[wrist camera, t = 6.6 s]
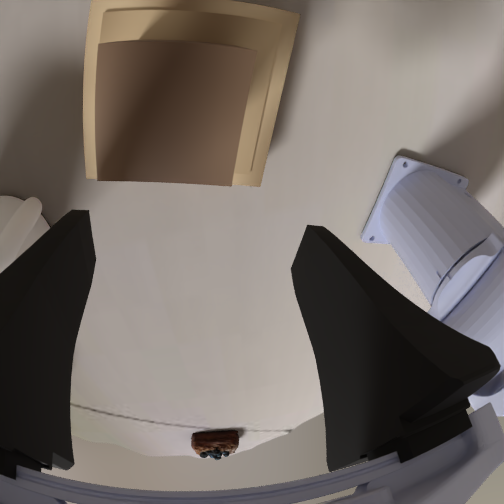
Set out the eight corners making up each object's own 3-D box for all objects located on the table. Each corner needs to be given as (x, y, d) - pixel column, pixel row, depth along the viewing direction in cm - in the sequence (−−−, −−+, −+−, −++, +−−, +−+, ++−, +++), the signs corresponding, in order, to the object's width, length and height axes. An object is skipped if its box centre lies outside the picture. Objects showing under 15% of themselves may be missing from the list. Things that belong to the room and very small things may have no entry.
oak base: (286, 16, 13) (301, 14, 11) (253, 168, 19) (260, 188, 17) (106, 3, 10) (90, -1, 8) (98, 160, 17) (85, 180, 15)
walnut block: (234, 45, 11) (257, 50, 7) (219, 130, 14) (231, 186, 10) (138, 39, 10) (98, 43, 6) (131, 126, 13) (97, 180, 9)
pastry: (238, 427, 56) (242, 452, 52) (237, 439, 64) (241, 460, 60) (187, 431, 55) (189, 456, 50) (193, 442, 62) (196, 463, 58)
